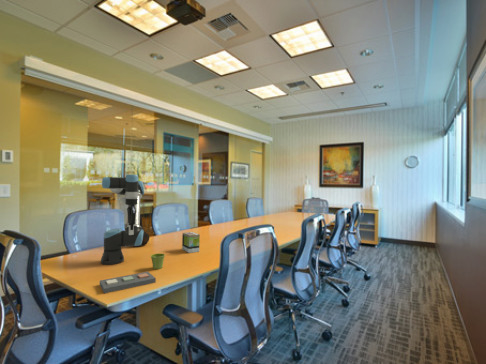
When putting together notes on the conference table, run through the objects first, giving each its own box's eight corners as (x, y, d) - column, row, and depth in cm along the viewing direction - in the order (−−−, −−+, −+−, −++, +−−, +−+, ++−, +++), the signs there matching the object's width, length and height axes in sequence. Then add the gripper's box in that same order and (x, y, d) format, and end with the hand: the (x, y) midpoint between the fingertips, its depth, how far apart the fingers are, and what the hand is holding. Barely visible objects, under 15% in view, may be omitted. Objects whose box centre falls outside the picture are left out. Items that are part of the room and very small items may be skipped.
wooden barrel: (144, 242, 258) (145, 213, 258) (152, 245, 245) (153, 215, 245) (125, 245, 245) (125, 214, 245) (133, 248, 232) (133, 216, 232)
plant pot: (155, 271, 176) (155, 258, 176) (147, 268, 182) (147, 255, 182) (167, 267, 183) (167, 255, 183) (160, 264, 189) (160, 252, 189)
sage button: (122, 281, 155) (122, 277, 155) (131, 279, 158) (131, 275, 158) (124, 284, 151) (124, 280, 151) (133, 282, 154) (133, 278, 154)
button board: (99, 285, 152) (99, 280, 152) (147, 275, 168) (148, 271, 168) (104, 293, 140) (104, 288, 140) (155, 282, 157) (155, 278, 157)
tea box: (199, 251, 227) (200, 234, 227) (188, 253, 221) (188, 235, 221) (192, 247, 239) (192, 231, 239) (181, 249, 233) (182, 232, 233)
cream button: (106, 284, 149) (106, 280, 149) (115, 282, 152) (115, 278, 152) (107, 287, 145) (107, 283, 145) (117, 285, 148) (117, 281, 148)
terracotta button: (137, 278, 160) (137, 274, 160) (146, 276, 163) (146, 273, 163) (140, 281, 156) (140, 277, 156) (148, 279, 159) (148, 275, 159)
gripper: (123, 197, 177) (122, 233, 177) (128, 199, 166) (127, 237, 166) (134, 197, 181) (134, 232, 181) (140, 198, 171) (140, 235, 171)
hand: (131, 234), depth 174 cm, fingers closed
